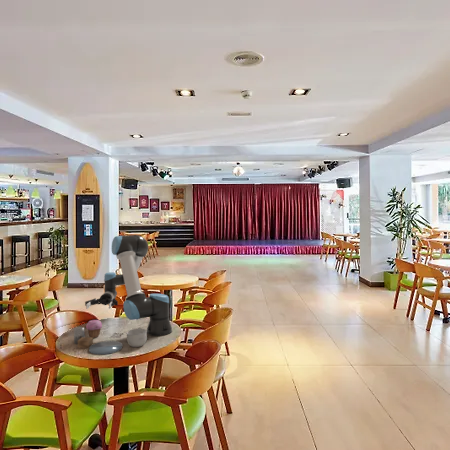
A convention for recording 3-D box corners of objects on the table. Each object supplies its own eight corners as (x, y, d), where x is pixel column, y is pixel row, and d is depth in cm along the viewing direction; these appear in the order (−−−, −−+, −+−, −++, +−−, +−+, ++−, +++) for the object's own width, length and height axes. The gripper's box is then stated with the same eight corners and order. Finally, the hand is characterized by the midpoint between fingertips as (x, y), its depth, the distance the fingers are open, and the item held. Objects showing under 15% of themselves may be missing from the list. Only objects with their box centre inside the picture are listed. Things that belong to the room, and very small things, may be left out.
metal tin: (86, 340, 208) (86, 326, 208) (81, 344, 203) (81, 330, 203) (77, 340, 209) (77, 326, 209) (72, 343, 203) (72, 329, 203)
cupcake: (83, 336, 216) (83, 319, 215) (97, 333, 222) (97, 317, 221) (90, 340, 209) (90, 323, 209) (104, 336, 215) (104, 319, 215)
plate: (126, 343, 204) (126, 341, 204) (114, 355, 187) (114, 352, 187) (97, 342, 205) (97, 340, 205) (83, 353, 188) (83, 351, 188)
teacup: (141, 349, 195) (141, 334, 194) (123, 348, 197) (122, 333, 197) (152, 340, 208) (152, 326, 208) (134, 339, 210) (134, 325, 210)
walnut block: (92, 344, 203) (92, 337, 203) (88, 348, 197) (88, 340, 197) (82, 344, 203) (82, 337, 203) (77, 348, 197) (77, 340, 197)
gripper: (125, 303, 247) (118, 312, 226) (87, 304, 246) (77, 312, 224) (125, 292, 247) (118, 300, 226) (87, 293, 245) (77, 300, 224)
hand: (98, 306), depth 225 cm, fingers open, 13 cm apart
